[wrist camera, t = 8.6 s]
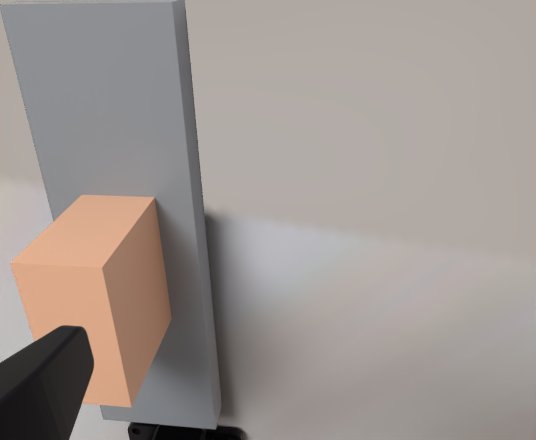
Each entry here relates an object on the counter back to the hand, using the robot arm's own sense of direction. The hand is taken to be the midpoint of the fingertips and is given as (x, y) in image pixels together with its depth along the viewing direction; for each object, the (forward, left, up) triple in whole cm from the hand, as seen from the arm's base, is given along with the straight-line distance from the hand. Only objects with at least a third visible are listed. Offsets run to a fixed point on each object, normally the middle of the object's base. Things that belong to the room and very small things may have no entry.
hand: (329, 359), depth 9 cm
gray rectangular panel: (-5, +8, -12) cm, 16 cm away
